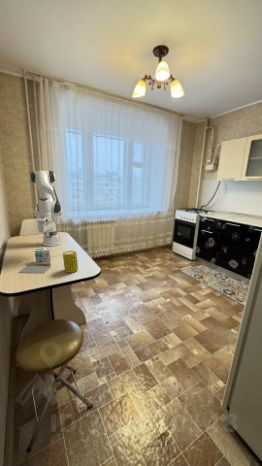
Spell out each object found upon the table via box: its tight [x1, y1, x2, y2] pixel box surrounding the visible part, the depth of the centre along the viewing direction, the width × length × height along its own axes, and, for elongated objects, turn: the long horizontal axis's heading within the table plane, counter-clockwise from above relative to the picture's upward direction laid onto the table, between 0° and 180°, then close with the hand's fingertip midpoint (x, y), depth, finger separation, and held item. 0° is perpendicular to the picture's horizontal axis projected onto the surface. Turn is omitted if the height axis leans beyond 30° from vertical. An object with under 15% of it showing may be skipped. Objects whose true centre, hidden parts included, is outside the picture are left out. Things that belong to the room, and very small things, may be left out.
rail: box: [28, 261, 52, 267], centre depth 146 cm, size 2×16×2 cm, turn 89°
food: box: [62, 250, 79, 274], centre depth 138 cm, size 15×12×10 cm
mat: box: [17, 264, 52, 274], centre depth 140 cm, size 12×18×1 cm, turn 90°
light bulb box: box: [34, 247, 52, 263], centre depth 152 cm, size 11×7×11 cm, turn 105°
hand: (47, 235), depth 158 cm, fingers closed
